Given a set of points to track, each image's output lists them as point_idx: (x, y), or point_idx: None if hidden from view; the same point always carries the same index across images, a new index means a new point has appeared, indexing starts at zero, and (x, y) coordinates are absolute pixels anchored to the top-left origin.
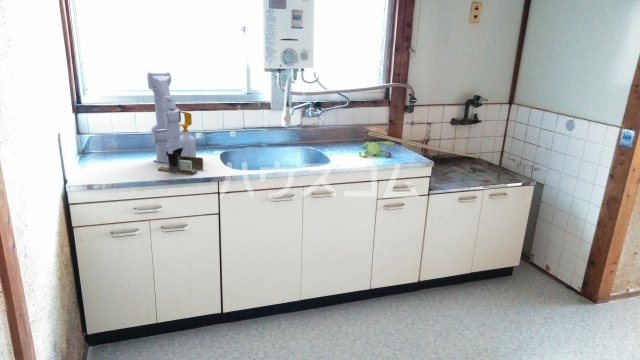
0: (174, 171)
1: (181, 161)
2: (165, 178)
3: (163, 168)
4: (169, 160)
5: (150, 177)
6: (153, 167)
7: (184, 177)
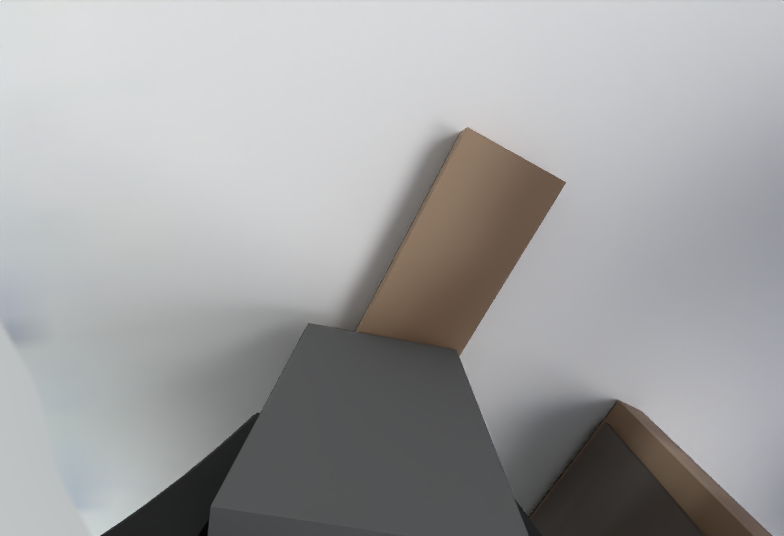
0: None
1: None
2: (50, 283)
3: (455, 227)
4: (243, 469)
5: (77, 49)
6: (679, 26)
7: (116, 493)
